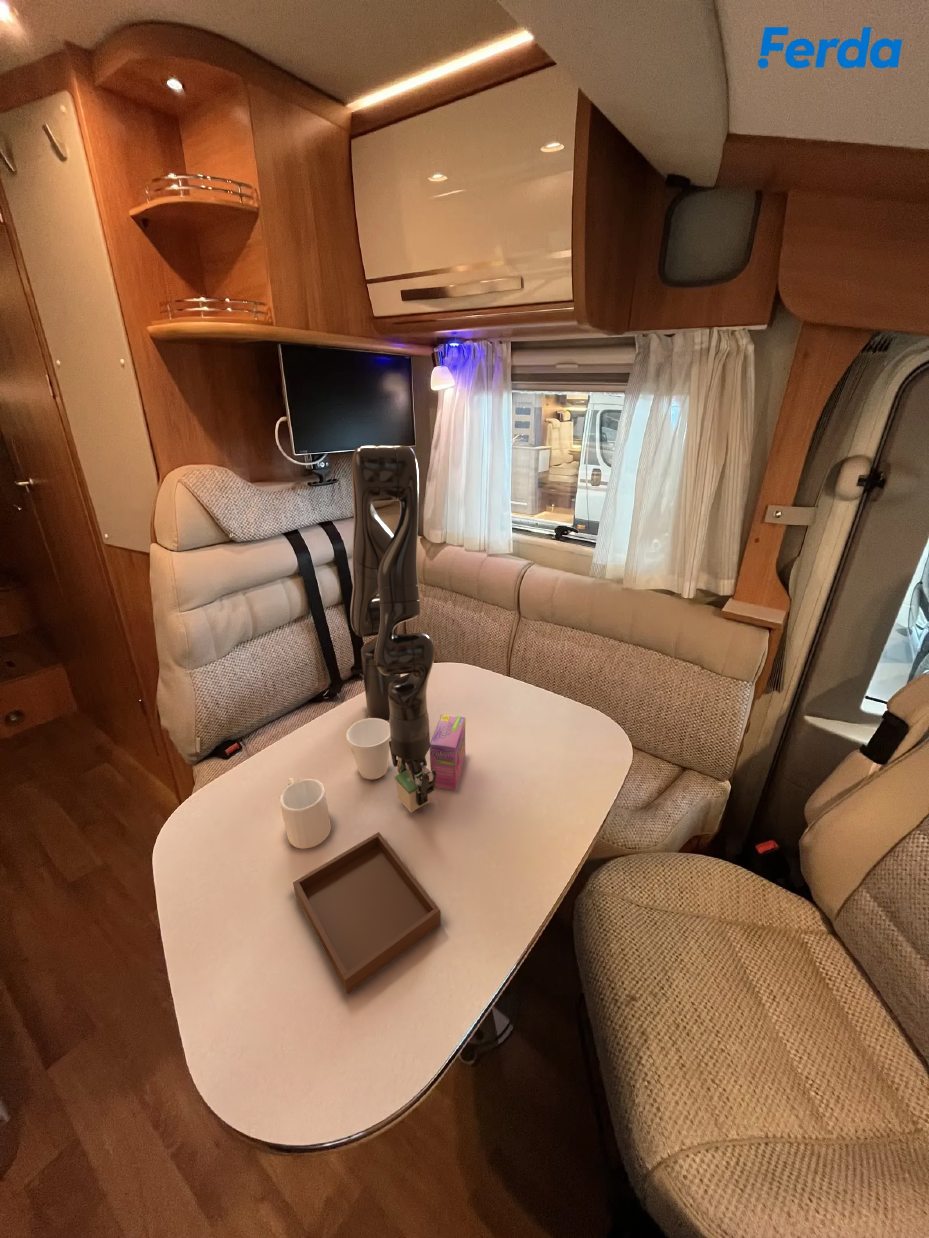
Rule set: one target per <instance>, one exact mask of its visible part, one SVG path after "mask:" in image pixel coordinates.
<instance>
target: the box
mask: <svg viewBox="0 0 929 1238" xmlns="http://www.w3.org/2000/svg"><path fill="white" fill-rule="evenodd" d="M465 760H466V717H463V716H458V715H450V714H449V715H448V714H441V715H440V717H439V719H438V721H437V725H436V727H435V730H434V731H433V735H432V737H431V739H430V748H429V761H430V762H429V763H430V771H432V770H435V771H436V782H435V788H440V789H446V790H453V791H457V787H458V784H459V781H460V777H461V774H462V770H463V767H464V764H465Z"/></svg>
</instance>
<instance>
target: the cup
mask: <svg viewBox="0 0 929 1238" xmlns="http://www.w3.org/2000/svg"><path fill="white" fill-rule="evenodd" d="M345 738H346V740H347V742H348V743H349V746H350V749H351V752H352V754H353V757H354V760H355V764H356V765H357V769H358V772H359V774H360V776H361V777H362V778H364V779H365V780H377V779H380V778H382V777H383V776H384V775H385V774H386V773H387V772H388V768H389V758H390V757H389V756H390V746H389V741H391V736H390V725H389V723H388V722H387V721H385V720H383V719H378V718H368V717H367V718H363V719H361V720H357V721H356V722H354V723H353V724H351V726H349V728H348V729H347V731H346V733H345Z"/></svg>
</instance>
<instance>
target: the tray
mask: <svg viewBox="0 0 929 1238" xmlns="http://www.w3.org/2000/svg"><path fill="white" fill-rule="evenodd" d="M292 886H293V890H294V895H295V897H296V899H297V900H298V903H299V904H300V906H301V908H302V910H303V912H304V914H305V916H306V918H307V920H308V922H309V924H310V926H311V927H312V929H313V931H314V933H315V935H316V937H317V939H318V941H319V943H320V944H321V945H320V946H321V947H322V949H323V950H324V953H325V955H326V956H327V959H328V960H329V962H330V963H331V965H332V968H333V970H334V972H335V973H336V975H337V977H338V979H339V981H340V983H341V985H342V987H343V989H344V991H345V993H346V994H348V995H349V994H350V993H351V992H352V991H353V990H355V989H356V988H357V987H359V986H360V985H361V984H363V983H364V982H366V980H368V979H369V978H371V977H372V976H373V975H375V974H376V973H377V972H378V971H380V970H381V969H382V968H384V967H386V966H387V965H388V964H389V963H390V962H392V961H393V960H394V959H396V958H397V957H398V956H400V955H401V954H402V953H404V952H405V951H407V950H408V949H409V948H410V947H412V946H413V945H414V944H415V943H417V942H418V941H419V940H421V939H422V938H423V937H425V936H426V935H427V934H429V933H430V932H431V931H433V930H434V929H435V928H437V927H438V926H439V925H441V924H442V919H441V909H440V908H439V906H438V905H437V904H436V902H434V900H433V899H432V897H431V896H430V895H429V894H428V893H427V891H426V890H425V889H424V887H423V886H422V885H421V883H420V882H419V881H418V880H417V878H416V877H415V876H414V874H413V873H412V872H411V871H410V869H409V868H408V867H407V865H405V863H404V862H403V860H402V859H401V857H399V855H398V854H397V853H396V852H395V850H394V849H393V848H392V846H391V845H390V844H389V843H388V841H387V840H386V839H385V837H384V836H383V835H382V834H381V832H380V831H377V832H376V833H374V834H372V835H371V836H368V837H367V838H366V839H364V840H362V841H361V842H359V843H357V844H356V845H354V846H352V847H351V848H349V849H347V850H345V851H344V852H342V853H340V854H338V855H337V856H335V857H333V858H331V859H330V860H328V861H326V862H325V863H323V864H321V865H320V866H317V867H316V868H313V870H311V871H309V872H308V873H306V874H304V875H302V876H301V877H299V878H297V879H296V880H293V881H292Z"/></svg>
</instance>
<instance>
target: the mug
mask: <svg viewBox="0 0 929 1238" xmlns="http://www.w3.org/2000/svg"><path fill="white" fill-rule="evenodd" d="M325 789H326V788H325V785H324V784H323V783H322V782H321V781H319V780H318V779H313V778H303V779H298V780H296V781H295V779H294V778H292V777H289V778H288V786H286V787H285V788H284V789H283V790H282V792H281V793H280V796H279V805H280V809H281V814H282V819H283V823H284V828H285V832H286V836H287V839H288V842H289V844H290V845H292V846H293V847H295V848H298V849H310V848H313V847H316V846H319V845H320V844H322V843H323V842H324V841H325V840H326V839H327V838H328V836H329V834H330V833H331V829H332V825H331V819H330V812H329V807H328V802H327V801H328V800H327V797H326V795H327V794H326V790H325Z"/></svg>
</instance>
